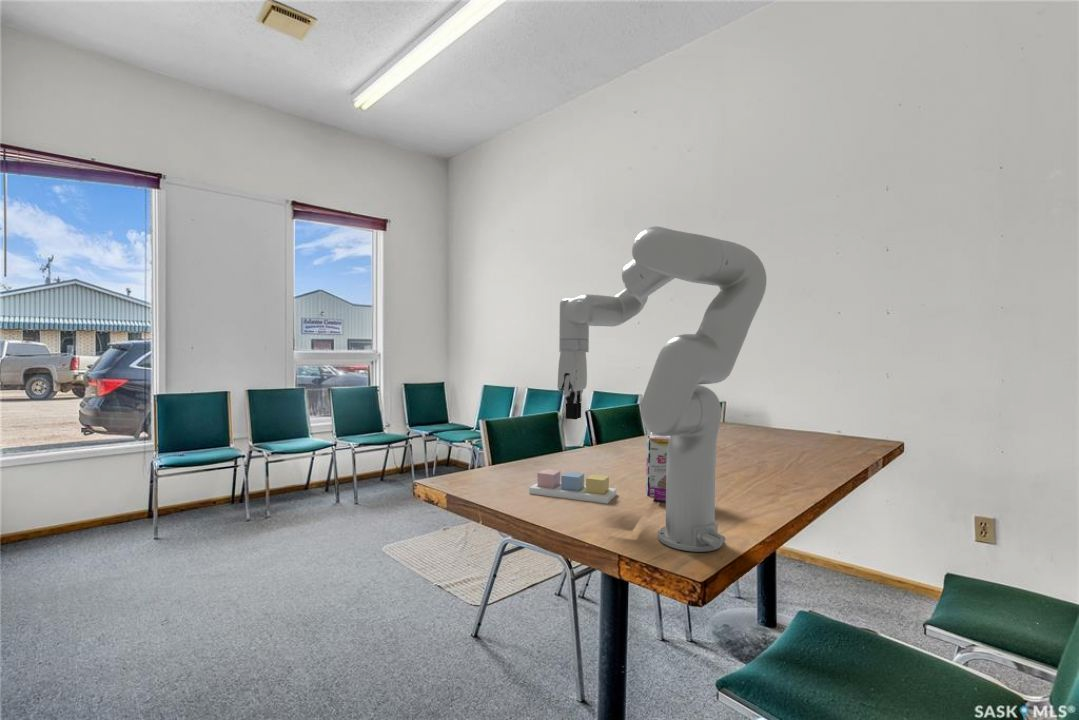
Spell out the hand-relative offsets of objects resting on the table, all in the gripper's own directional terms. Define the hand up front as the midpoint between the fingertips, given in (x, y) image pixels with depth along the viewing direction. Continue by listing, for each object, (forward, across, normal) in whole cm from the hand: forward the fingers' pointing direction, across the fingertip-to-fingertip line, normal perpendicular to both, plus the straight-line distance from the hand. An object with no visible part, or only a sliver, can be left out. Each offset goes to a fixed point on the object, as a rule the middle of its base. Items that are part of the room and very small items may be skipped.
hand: (573, 417), depth 131 cm
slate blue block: (+20, 0, 0) cm, 20 cm away
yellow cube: (+20, 0, +7) cm, 21 cm away
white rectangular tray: (+21, 0, 0) cm, 21 cm away
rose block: (+20, 0, -7) cm, 21 cm away
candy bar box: (+21, -10, +23) cm, 33 cm away
